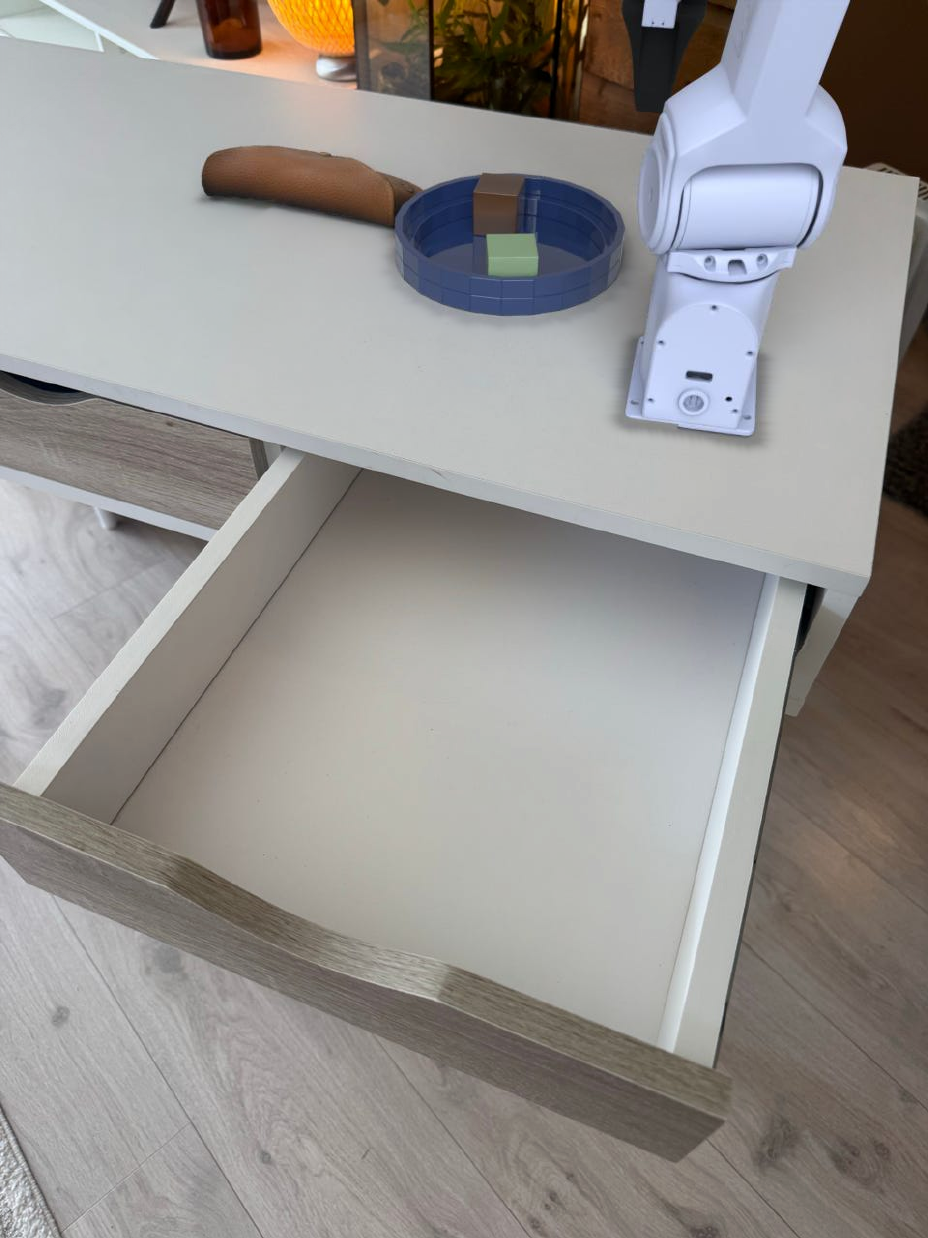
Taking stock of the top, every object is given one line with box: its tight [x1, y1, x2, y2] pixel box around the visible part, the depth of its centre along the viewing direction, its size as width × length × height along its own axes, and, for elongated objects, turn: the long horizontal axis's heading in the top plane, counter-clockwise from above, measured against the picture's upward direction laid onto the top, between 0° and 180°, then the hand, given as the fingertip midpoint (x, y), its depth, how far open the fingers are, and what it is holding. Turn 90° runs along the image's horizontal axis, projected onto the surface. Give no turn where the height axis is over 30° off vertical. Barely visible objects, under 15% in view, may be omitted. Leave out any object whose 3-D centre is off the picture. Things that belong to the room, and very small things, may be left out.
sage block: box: [486, 234, 539, 276], centre depth 67 cm, size 4×4×4 cm
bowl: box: [394, 172, 626, 317], centre depth 71 cm, size 17×17×3 cm
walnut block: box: [473, 172, 526, 236], centre depth 74 cm, size 4×4×4 cm
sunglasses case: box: [201, 144, 424, 228], centre depth 78 cm, size 18×7×7 cm
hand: (650, 108), depth 69 cm, fingers closed
